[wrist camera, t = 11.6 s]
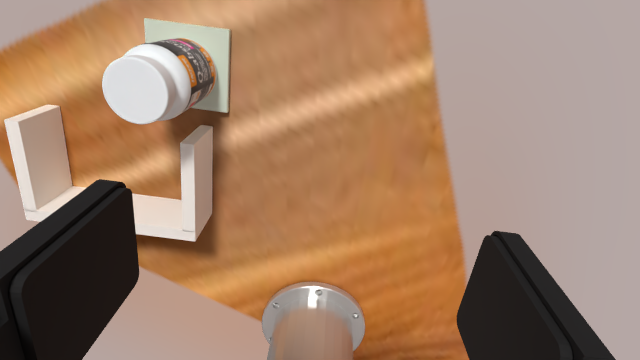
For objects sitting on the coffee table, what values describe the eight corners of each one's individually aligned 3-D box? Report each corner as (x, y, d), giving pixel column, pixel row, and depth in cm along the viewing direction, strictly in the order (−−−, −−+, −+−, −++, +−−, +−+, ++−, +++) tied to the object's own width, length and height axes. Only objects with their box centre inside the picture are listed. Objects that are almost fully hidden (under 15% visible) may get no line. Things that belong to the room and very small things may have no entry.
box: (212, 213, 43) (195, 241, 38) (62, 194, 43) (26, 219, 38) (212, 126, 39) (193, 144, 34) (47, 104, 39) (4, 119, 34)
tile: (228, 111, 38) (227, 112, 38) (151, 101, 38) (149, 102, 37) (230, 29, 35) (229, 29, 34) (147, 18, 35) (144, 18, 34)
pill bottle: (229, 63, 36) (191, 84, 27) (198, 112, 38) (153, 147, 29) (175, 23, 34) (115, 29, 25) (146, 76, 36) (81, 99, 27)
